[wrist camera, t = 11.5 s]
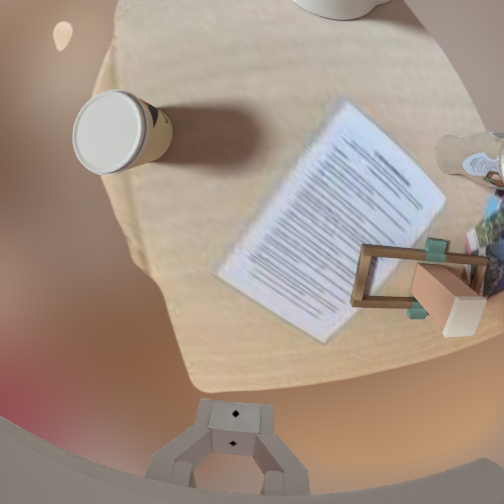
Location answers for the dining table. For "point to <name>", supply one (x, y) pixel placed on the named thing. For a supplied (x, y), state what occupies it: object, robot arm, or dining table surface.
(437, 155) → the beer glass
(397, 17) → the dining table surface
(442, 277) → the block
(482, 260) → the open rectangular frame
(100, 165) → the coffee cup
